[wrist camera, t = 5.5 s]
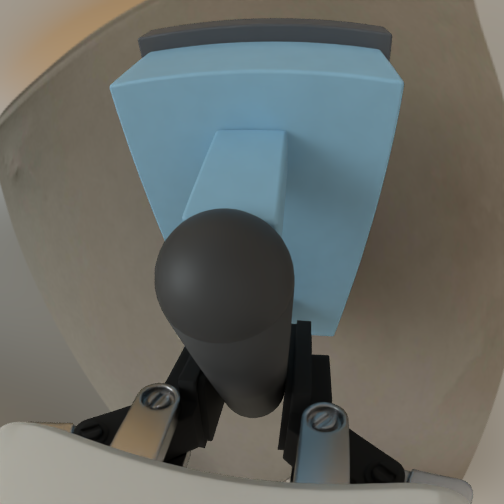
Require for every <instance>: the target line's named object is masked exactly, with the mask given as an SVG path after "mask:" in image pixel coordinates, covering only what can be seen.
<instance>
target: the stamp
mask: <svg viewBox="0 0 504 504" xmlns="http://www.w3.org/2000/svg"><path fill="white" fill-rule="evenodd" d="M138 43H139V47H140V51H141V56H142V59H141V60H139V61H138V62H137V63H136V64H134V65H133V66H132V67H131V68H130V69H128V70H127V71H126V72H125V73H124V74H122V75H121V76H120V77H119V78H118V79H117V80H116V81H114V82H113V83H112V84H111V85H110V91H111V94H112V97H113V100H114V103H115V107H116V110H117V113H118V116H119V119H120V122H121V125H122V128H123V131H124V134H125V137H126V140H127V143H128V145H129V148H130V151H131V154H132V157H133V160H134V162H135V165H136V168H137V171H138V173H139V176H140V179H141V182H142V184H143V187H144V189H145V192H146V195H147V197H148V200H149V203H150V205H151V208H152V210H153V213H154V215H155V218H156V220H157V223H158V225H159V228H160V230H161V233H162V235H163V238H164V240H165V242H164V244H163V246H162V248H161V250H160V252H159V255H158V258H157V262H156V266H155V290H156V295H157V299H158V302H159V304H160V306H161V309H162V311H163V313H164V315H165V316H166V318H167V320H168V321H169V323H170V324H171V326H172V327H173V329H174V330H175V332H176V333H177V335H178V336H179V338H180V339H181V341H182V342H183V344H184V345H185V347H186V348H187V350H188V351H189V353H190V354H191V356H192V357H193V359H194V360H195V361H196V363H197V364H198V366H199V367H200V369H201V370H202V371H203V373H204V374H205V376H206V377H207V378H208V380H209V381H210V383H211V384H212V385H213V387H214V388H215V389H216V391H217V392H218V393H219V395H220V396H221V397H222V399H223V400H224V401H225V403H226V404H227V405H228V407H229V408H230V409H231V410H233V411H234V412H235V413H237V414H239V415H241V416H244V417H248V418H258V417H263V416H265V415H268V414H269V413H271V412H273V411H274V410H275V409H276V408H277V407H278V406H279V404H280V403H281V401H282V399H283V396H284V392H285V384H286V374H287V364H288V354H289V344H290V333H291V324H297V320H302V321H311V335H319V336H334V334H335V332H336V329H337V326H338V324H339V321H340V318H341V316H342V313H343V310H344V308H345V305H346V302H347V299H348V296H349V294H350V291H351V288H352V285H353V282H354V279H355V276H356V273H357V270H358V267H359V264H360V261H361V258H362V255H363V252H364V248H365V245H366V242H367V239H368V235H369V232H370V229H371V225H372V222H373V218H374V215H375V211H376V208H377V204H378V200H379V197H380V193H381V189H382V185H383V181H384V178H385V174H386V170H387V165H388V161H389V157H390V153H391V148H392V144H393V139H394V135H395V130H396V125H397V120H398V115H399V110H400V105H401V100H402V94H403V89H404V82H403V80H402V79H401V77H400V76H399V75H398V73H397V72H396V70H395V69H394V68H393V66H392V65H391V64H390V62H389V61H390V52H391V43H392V34H391V33H390V32H389V31H388V30H386V29H385V28H384V27H381V26H374V25H367V24H360V23H352V22H342V21H331V20H317V19H293V18H261V19H238V20H223V21H212V22H203V23H194V24H187V25H180V26H173V27H167V28H161V29H156V30H151V31H149V32H148V33H146V34H144V35H143V36H141V37H140V38H138Z"/></svg>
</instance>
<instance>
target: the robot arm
mask: <svg viewBox="0 0 504 504" xmlns="http://www.w3.org/2000/svg"><path fill="white" fill-rule="evenodd" d="M224 402H225V401H224V400H223V399H222V397H221V396H220V395H219V393H218V392H217V391H216V389H215V388H214V387H213V385H212V384H211V383H210V381H209V380H208V378H207V377H206V376H205V374H204V373H203V371H202V370H201V369H200V367H199V366H198V364H197V363H196V361H195V360H194V359H193V357H192V356H191V354H190V353H189V351H188V350H187V348H186V347H184V349H183V351H182V353H181V355H180V356H179V358H178V360H177V362H176V364H175V366H174V368H173V369H172V371H171V373H170V375H169V377H168V379H167V381H166V382H165V383H155V384H151V385H148V386H146V387H144V388H143V389H141V390H140V392H139V393H138V394H137V396H136V398H135V400H134V402H133V404H132V405H131V406H128V407H125V408H122V409H119V410H116V411H113V412H110V413H106V414H103V415H100V416H97V417H93V418H90V419H87V420H84V421H82V422H81V423H80V424H78V425H77V426H74V424H73V423H51V422H32V421H31V422H14V423H9V424H6V425H4V426H2V427H1V428H0V504H472V499H473V490H472V488H471V486H470V485H469V484H468V483H467V482H466V481H464V480H461V479H456V478H451V477H446V476H441V475H437V474H432V473H428V472H423V471H419V470H415V469H412V471H411V472H410V471H407V470H404V469H403V467H402V465H401V464H400V463H398V462H397V461H396V460H394V459H393V458H391V457H390V456H388V455H387V454H385V453H384V452H382V451H381V450H379V449H378V448H376V447H375V446H373V445H372V444H371V443H369V442H368V441H366V440H365V439H363V438H362V437H360V436H359V435H358V434H356V433H355V432H353V431H352V430H350V429H349V420H348V416H347V413H346V412H345V411H344V409H342V408H341V407H340V406H338V405H335V404H333V403H332V392H331V376H330V361H329V356H328V355H312V338H311V321H302V320H297V324H291V333H290V344H289V354H288V364H287V374H286V384H285V393H284V402H283V411H282V420H281V428H280V437H279V445H278V450H284V453H283V459H284V460H285V461H287V462H288V463H289V464H290V465H291V466H292V469H291V476H290V482H278V481H267V480H258V479H249V478H242V477H234V476H228V475H222V474H216V473H210V472H205V471H200V470H195V469H190V468H187V465H188V462H189V459H190V456H191V450H193V449H196V448H198V447H202V448H205V446H206V443H207V440H208V441H212V440H213V437H214V434H215V431H216V427H217V424H218V421H219V418H220V415H221V411H222V408H223V405H224Z"/></svg>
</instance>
